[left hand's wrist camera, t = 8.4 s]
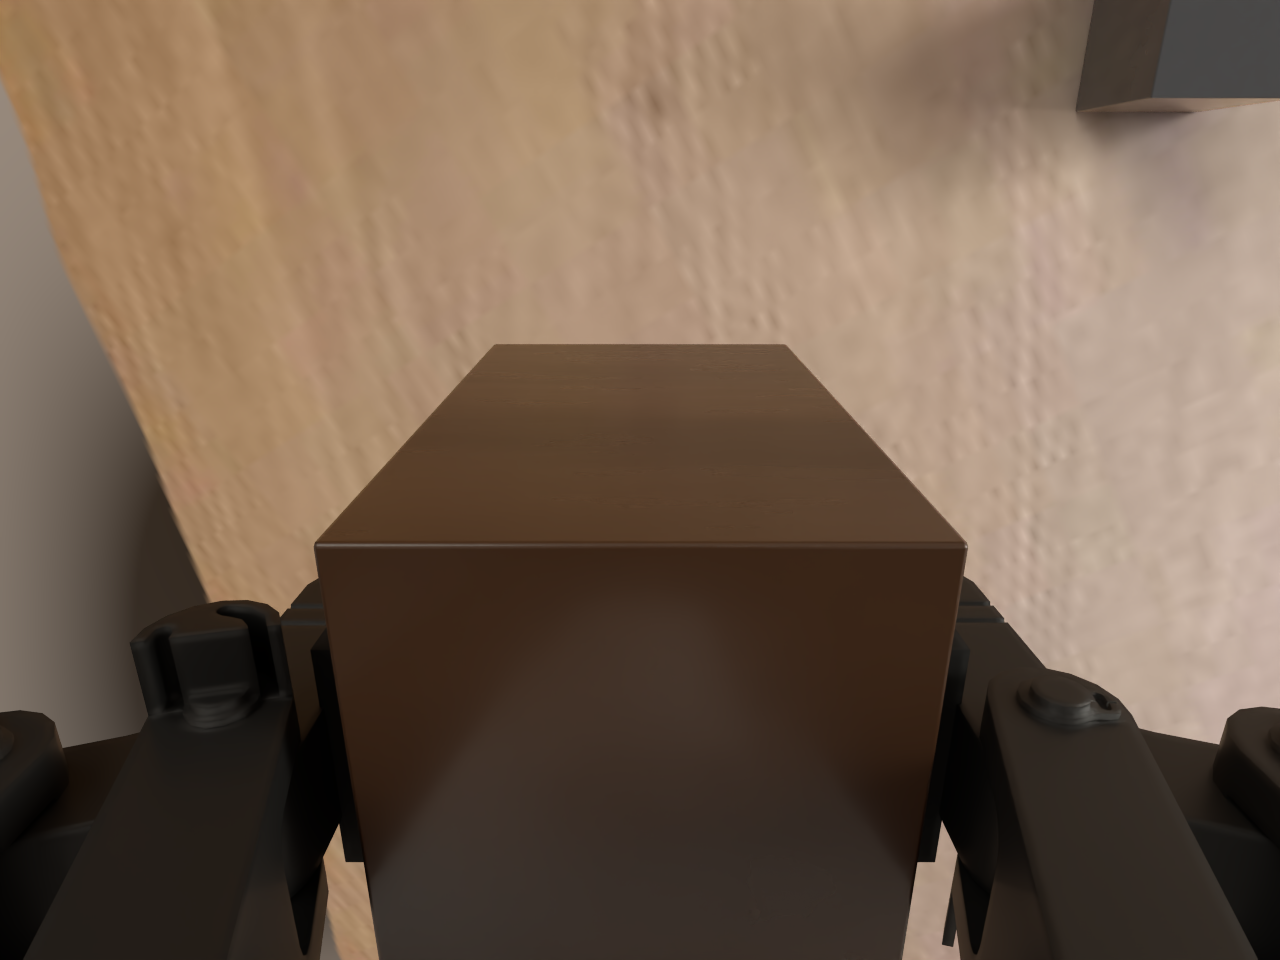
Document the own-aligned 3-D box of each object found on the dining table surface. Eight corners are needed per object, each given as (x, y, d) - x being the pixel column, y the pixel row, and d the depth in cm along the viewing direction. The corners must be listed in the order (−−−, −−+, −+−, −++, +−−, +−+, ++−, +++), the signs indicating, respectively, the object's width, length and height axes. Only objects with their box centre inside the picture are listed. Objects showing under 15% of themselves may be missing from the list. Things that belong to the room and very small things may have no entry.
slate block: (1099, -34, 24) (1185, -75, 20) (1231, -34, 24) (1341, -75, 20) (1074, 112, 25) (1150, 98, 22) (1199, 111, 25) (1297, 98, 22)
